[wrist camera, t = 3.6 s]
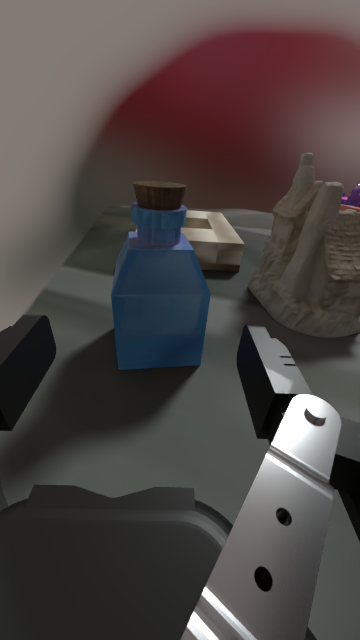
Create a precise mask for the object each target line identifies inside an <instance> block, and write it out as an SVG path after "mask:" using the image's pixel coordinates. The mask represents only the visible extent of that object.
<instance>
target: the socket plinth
mask: <svg viewBox="0 0 360 640" xmlns="http://www.w3.org/2000/svg"><path fill="white" fill-rule="evenodd" d="M136 232H137V230H136ZM181 233H184V235H185V236H186V238H187V240H188V241H189V243H190V244H191V246H192V248H193V249H194V252H195V254H196V257H197V260H198V262H199V265H200V267H201V270H218V271H235V272H239V268H240V263H241V258H242V253H243V248H244V243H243V241H242V240H241V239H240V237H239V236H238V235H237V233H236V232H235V231H234V229H233V228H232V227H231V225H230V224H229V223H228V221H227V220H226V219H225V217H224V216H223V215H222V213H218V212H203V211H187V214H186V225H184V226H183V227H181Z"/></svg>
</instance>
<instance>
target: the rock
mask: <svg viewBox="0 0 360 640" xmlns="http://www.w3.org/2000/svg"><path fill="white" fill-rule="evenodd" d="M313 159H314V156H313V154H312V153H304V154H302V155H301V157H300V167H299V169H298V171H297V172H296V174H295V177H294V179H293V187H292V188H291V189H290V190H289V192H288V193H287V194H286V196H285V197H284V198H283V199H281V200H280V201H279V202H278V203H277V204H276V205H275V207H274V210H273V215H274V222H273V227H272V233H271V237H270V238H269V240H268V241H266V242H265V243H266V247H265V249H264V250H263V256H262V259H261V262H260V265H259V267H258V268H257V270H256V271H255V272H254V274H253V276H252V278H251V281H250V283H249V290H250V291H251V292H252V293H253V295H254V296H255V297H257V299H258V300H259V301H260V303H261V305H262V306H263V307H264V308H265V309H266V310H267V312H268V313H269V314H270V315H271V316H272V317H273V319H274V320H275V321H277V322H278V323H279V324H281V325H283V326H285V327H287V328H288V329H291V330H293V331H296V332H299V333H302V334H305V335H311V336H314V337H328V338H336V337H343V336H349V335H352V334H355V333H360V212H356V211H355V210H352V209H347V210H345V211H340V210H339V209H340V205H341V200H342V195H343V190H344V187H343V185H342V184H341V183H338V182H327V183H324V181H315V179H314V175H315V167H312V166H311V165H312V162H313Z"/></svg>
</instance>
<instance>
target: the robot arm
mask: <svg viewBox="0 0 360 640" xmlns="http://www.w3.org/2000/svg"><path fill="white" fill-rule="evenodd" d="M55 355H56V344H55V341H54V337H53V333H52V329H51V326H50V322H49V319H48V317H47V316H45V315H23V316H22V317H21V318H20V319H19V320H18V321H17V322H16V323H15V324H14V325H13V326H10V327H8V328H6V329H4V330H3V331H1V332H0V431H12V429H13V428H14V426H15V424H16V423H17V421H18V419H19V418H20V416H21V414H22V413H23V411H24V409H25V408H26V406H27V404H28V403H29V401H30V399H31V398H32V396H33V394H34V393H35V391H36V389H37V388H38V386H39V384H40V383H41V381H42V379H43V377H44V376H45V374H46V372H47V371H48V369H49V367H50V366H51V364H52V362H53V361H54V359H55ZM237 368H238V372H239V376H240V379H241V383H242V386H243V390H244V393H245V397H246V401H247V404H248V408H249V411H250V415H251V418H252V422H253V425H254V429H255V433H256V436H257V439H268V441H269V444H270V448H269V450H268V452H267V454H266V457H265V459H264V461H263V463H262V465H261V467H260V470H259V472H258V474H257V476H256V478H255V480H254V482H253V485H252V487H251V489H250V491H249V493H248V495H247V498H246V500H245V502H244V504H243V506H242V508H241V510H240V513H239V515H238V517H237V519H236V521H235V523H234V526H233V525H232V524H231V523H230V522H229V521H228V520H227V519H226V518H225V517H224V516H223V515H221V514H220V513H219V512H218V511H216V510H215V509H213V508H212V507H210V506H208V505H206V504H204V503H202V502H199V501H196V500H194V488H174V487H154V488H150V489H147V490H143V491H139V492H136V493H132V494H128V495H125V496H121V497H117V498H109V497H106V496H103V495H100V494H97V493H94V492H91V491H89V490H86V489H83V488H80V487H77V486H69V485H34V486H33V489H32V491H31V493H30V495H29V498H28V499H25V500H22V501H20V502H17V503H14V504H12V505H10V506H8V504H7V502H6V499H5V497H4V494H3V490H2V485H1V480H0V640H317V639H316V638H315V636H314V635H313V633H312V632H311V631H310V629H309V628H308V627H307V626H308V621H309V616H310V611H311V606H312V601H313V596H314V591H315V586H316V581H317V576H318V571H319V566H320V561H321V556H322V551H323V546H324V541H325V536H326V531H327V526H328V521H329V516H330V511H331V506H332V501H333V494H334V489H336V490H338V492H339V494H340V497H341V499H342V501H343V504H344V506H345V508H346V511H347V513H348V515H349V518H350V520H351V522H352V525H353V527H354V530H355V532H356V534H357V537H358V539H359V541H360V423H357V422H354V421H351V420H347V419H344V418H341V417H339V415H338V413H337V412H336V410H335V409H334V408H333V407H332V406H331V405H329V404H328V403H327V402H325V401H324V400H322V399H320V398H318V397H315V396H313V394H312V392H311V390H310V389H309V387H308V385H307V383H306V381H305V380H304V378H303V376H302V374H301V373H300V371H299V369H298V367H297V366H296V364H295V362H294V360H293V358H291V355H290V353H289V351H288V349H287V348H286V346H285V345H283V344H282V343H281V342H280V341H279V340H278V339H276V338H270V336H269V334H268V332H267V330H266V328H265V327H264V326H256V325H245V326H244V328H243V332H242V336H241V340H240V344H239V348H238V352H237Z"/></svg>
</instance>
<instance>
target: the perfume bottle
mask: <svg viewBox="0 0 360 640" xmlns="http://www.w3.org/2000/svg"><path fill="white" fill-rule="evenodd" d="M133 185H134V190H135V194H136V198H137V203H134V204H132V205H131V207H132V222H133V223H134V224H136V225H137V232H129V233H128V235H127V238H126V240H125V242H124V244H123V247H122V249H121V251H120V254H119V256H118V258H117V262H116V268H115V274H114V281H113V287H112V293H111V299H112V309H113V319H114V330H115V340H116V350H117V360H118V370H127V369H144V368H160V367H176V366H193V365H200V364H201V357H202V350H203V343H204V336H205V329H206V322H207V315H208V308H209V301H210V291H209V289H208V286H207V283H206V281H205V278H204V275H203V273H202V270H201V267H200V265H199V262H198V260H197V257H196V254H195V252H194V249H193V248H192V246H191V244H190V243H189V241H188V240H187V238H186V236H185V235H184V233H181V227H183V226H184V225H186V214H187V207H185V206H183V205H181V204H182V200H183V196H184V192H185V188H186V185H183V184H177V183H170V182H155V181H137V182H133Z"/></svg>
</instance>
